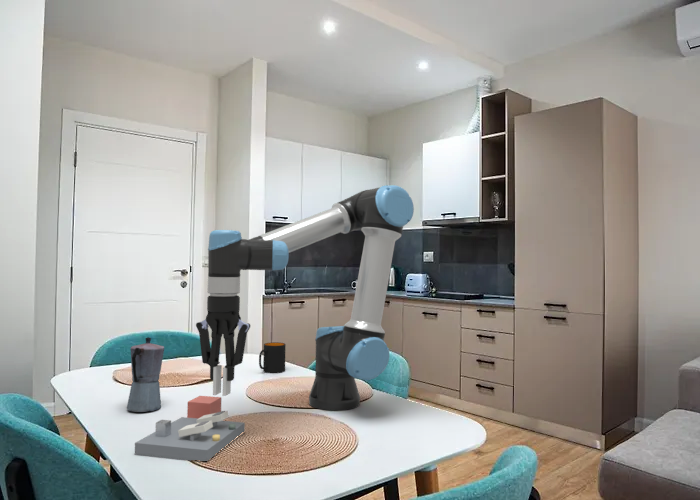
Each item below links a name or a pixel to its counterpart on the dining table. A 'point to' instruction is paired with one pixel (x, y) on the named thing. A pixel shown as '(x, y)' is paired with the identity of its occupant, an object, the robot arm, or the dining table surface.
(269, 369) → the mug
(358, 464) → the dining table surface
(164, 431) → the post
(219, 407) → the cap
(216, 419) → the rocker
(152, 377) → the moka pot
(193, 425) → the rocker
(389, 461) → the dining table surface
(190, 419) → the panel
